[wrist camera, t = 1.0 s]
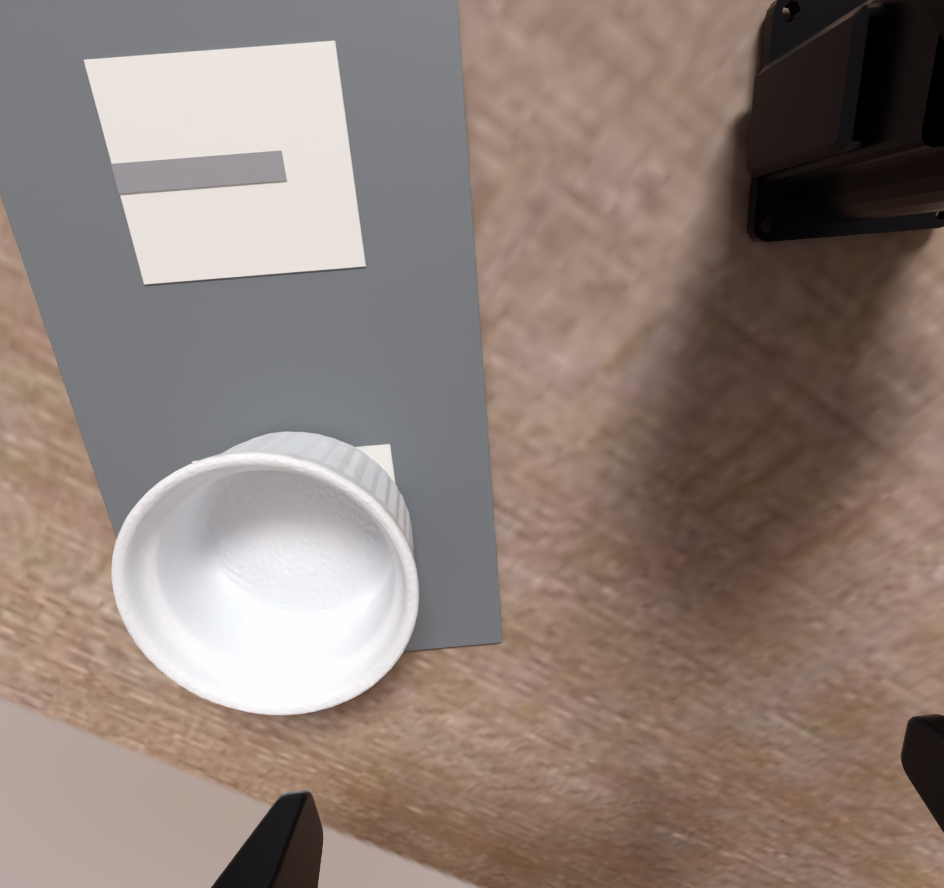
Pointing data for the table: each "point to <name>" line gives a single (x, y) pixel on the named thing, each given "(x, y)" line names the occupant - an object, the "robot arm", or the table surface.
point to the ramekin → (271, 574)
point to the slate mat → (261, 249)
